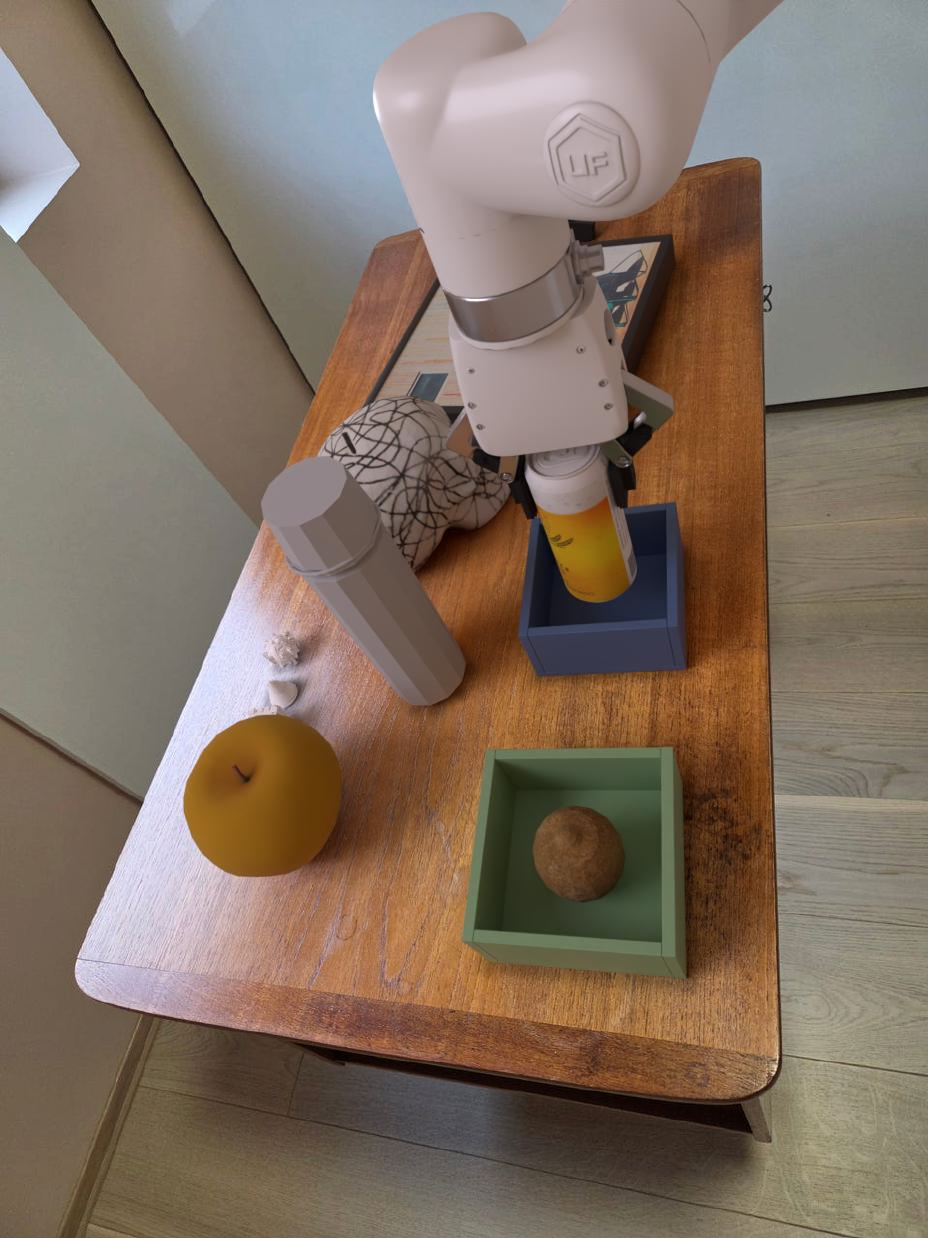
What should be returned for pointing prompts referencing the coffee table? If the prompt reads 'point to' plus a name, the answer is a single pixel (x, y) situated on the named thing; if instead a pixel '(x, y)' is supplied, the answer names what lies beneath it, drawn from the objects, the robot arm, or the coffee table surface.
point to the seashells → (280, 692)
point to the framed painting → (625, 282)
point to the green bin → (563, 929)
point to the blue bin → (609, 606)
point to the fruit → (578, 854)
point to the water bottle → (362, 577)
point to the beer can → (582, 521)
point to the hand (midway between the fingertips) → (577, 498)
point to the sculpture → (415, 473)
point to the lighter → (582, 229)
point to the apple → (263, 796)
